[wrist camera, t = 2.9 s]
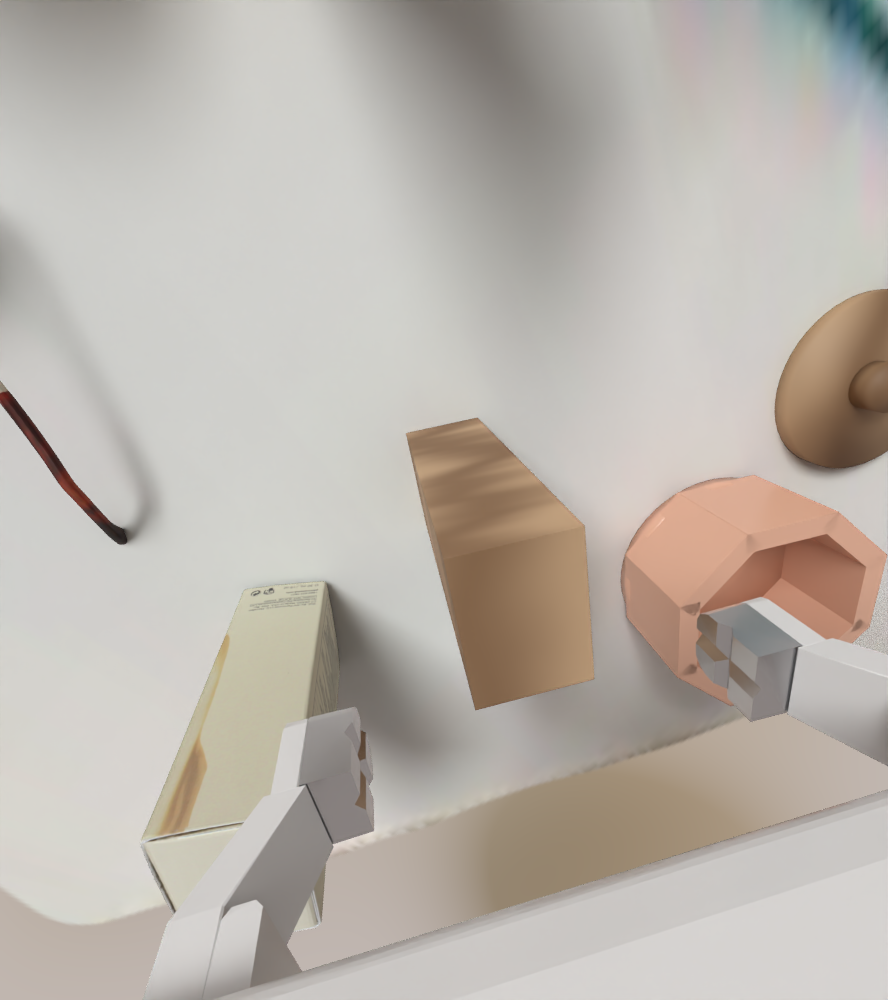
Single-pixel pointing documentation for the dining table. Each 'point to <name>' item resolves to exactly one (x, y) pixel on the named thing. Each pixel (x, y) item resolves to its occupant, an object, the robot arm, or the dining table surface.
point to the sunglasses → (57, 466)
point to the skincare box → (244, 733)
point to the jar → (745, 567)
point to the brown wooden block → (504, 564)
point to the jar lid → (838, 386)
